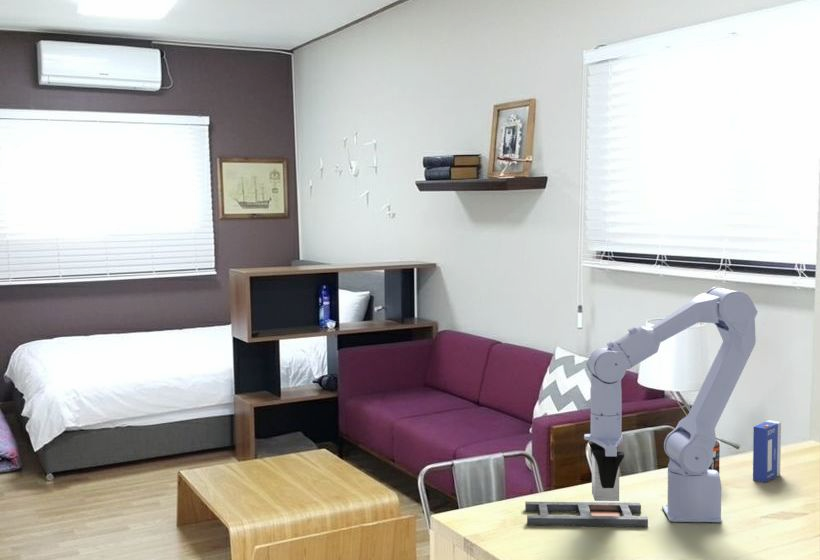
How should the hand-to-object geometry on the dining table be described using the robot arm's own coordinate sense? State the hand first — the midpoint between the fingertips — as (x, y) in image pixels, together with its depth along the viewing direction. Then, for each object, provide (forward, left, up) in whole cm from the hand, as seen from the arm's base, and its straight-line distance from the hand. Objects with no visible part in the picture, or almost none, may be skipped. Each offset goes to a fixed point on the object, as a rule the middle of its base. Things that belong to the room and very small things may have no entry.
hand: (605, 483), depth 165 cm
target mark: (0, 0, -7) cm, 7 cm away
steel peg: (0, 0, -3) cm, 3 cm away
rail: (+4, 0, -7) cm, 8 cm away
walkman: (-38, -26, -7) cm, 46 cm away
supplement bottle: (-24, -22, -7) cm, 33 cm away
